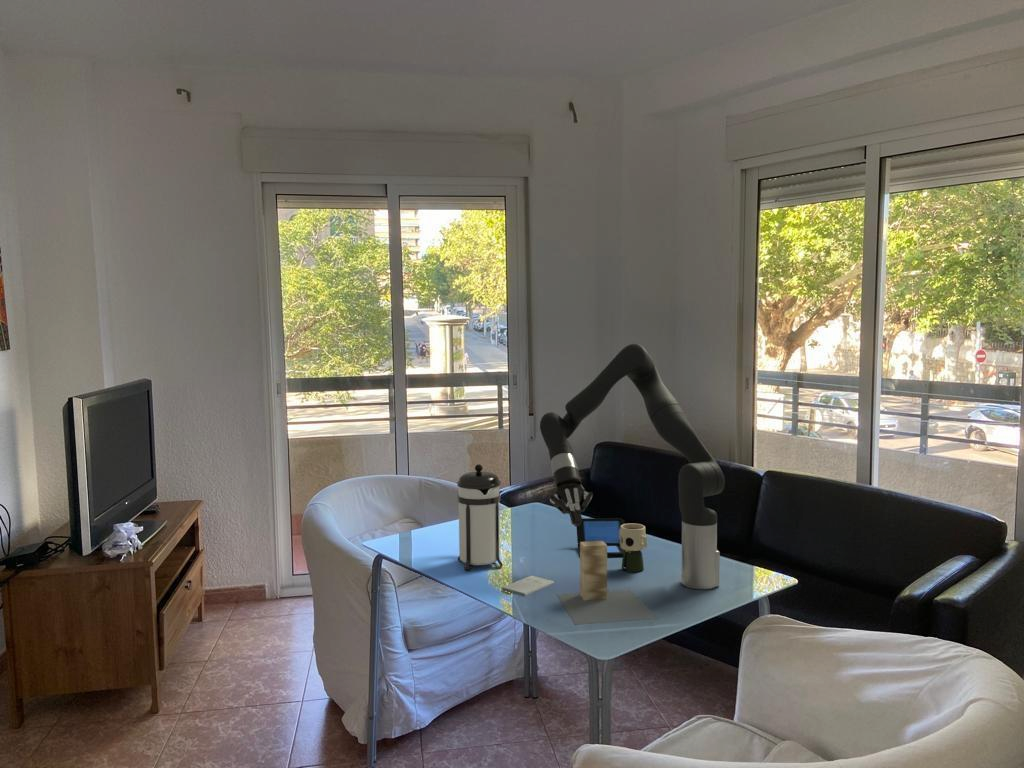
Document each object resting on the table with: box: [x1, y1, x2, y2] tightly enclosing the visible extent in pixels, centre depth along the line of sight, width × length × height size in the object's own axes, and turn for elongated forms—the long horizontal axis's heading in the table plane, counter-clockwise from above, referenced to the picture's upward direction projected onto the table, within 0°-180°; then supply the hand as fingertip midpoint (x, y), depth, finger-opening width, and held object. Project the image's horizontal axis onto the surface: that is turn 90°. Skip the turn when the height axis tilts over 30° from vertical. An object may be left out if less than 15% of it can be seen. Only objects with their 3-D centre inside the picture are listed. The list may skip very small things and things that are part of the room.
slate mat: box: [556, 589, 658, 625], centre depth 184 cm, size 20×20×1 cm
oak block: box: [579, 541, 608, 600], centre depth 190 cm, size 6×4×14 cm
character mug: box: [619, 523, 648, 573], centre depth 212 cm, size 11×7×13 cm, turn 35°
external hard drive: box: [501, 575, 555, 596], centre depth 199 cm, size 2×8×12 cm
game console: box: [575, 517, 625, 558], centre depth 232 cm, size 16×14×9 cm
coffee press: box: [456, 463, 504, 572], centre depth 219 cm, size 17×16×30 cm
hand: (577, 524), depth 206 cm, fingers closed
